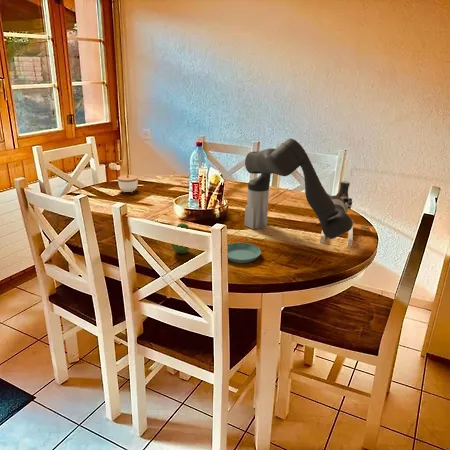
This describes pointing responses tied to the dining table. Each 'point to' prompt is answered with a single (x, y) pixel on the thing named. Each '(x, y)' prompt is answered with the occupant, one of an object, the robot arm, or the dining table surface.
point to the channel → (350, 236)
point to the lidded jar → (128, 183)
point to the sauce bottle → (344, 191)
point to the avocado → (180, 248)
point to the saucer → (242, 252)
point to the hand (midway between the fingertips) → (333, 194)
